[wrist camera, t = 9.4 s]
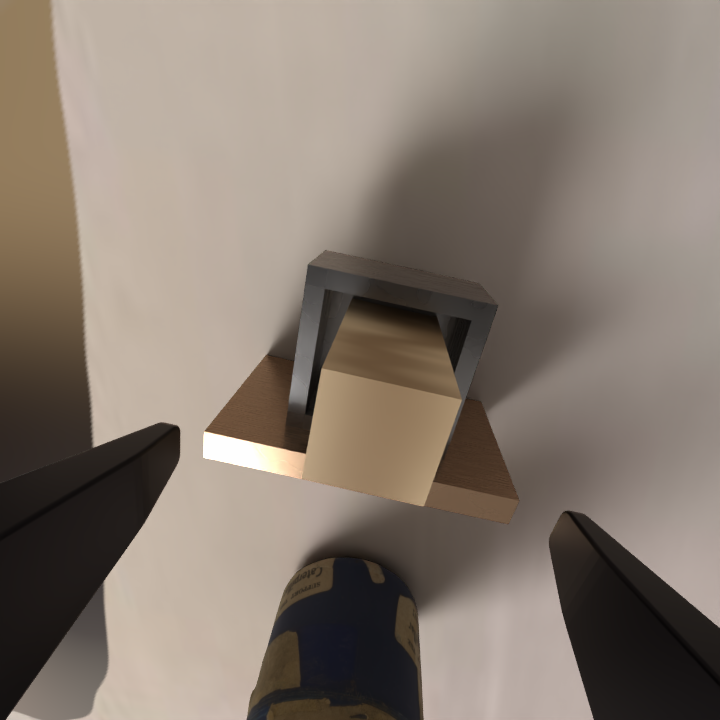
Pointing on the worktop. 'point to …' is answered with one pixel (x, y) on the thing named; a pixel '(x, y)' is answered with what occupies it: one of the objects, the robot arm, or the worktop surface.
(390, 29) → the worktop surface
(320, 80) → the worktop surface
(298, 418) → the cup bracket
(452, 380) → the rail end
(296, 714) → the canister
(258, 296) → the worktop surface
